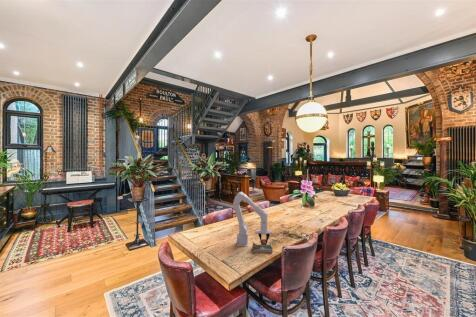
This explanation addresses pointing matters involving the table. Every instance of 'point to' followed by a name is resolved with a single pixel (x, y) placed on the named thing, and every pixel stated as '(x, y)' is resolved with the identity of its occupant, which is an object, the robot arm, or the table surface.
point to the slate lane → (264, 249)
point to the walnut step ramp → (255, 246)
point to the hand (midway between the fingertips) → (263, 242)
